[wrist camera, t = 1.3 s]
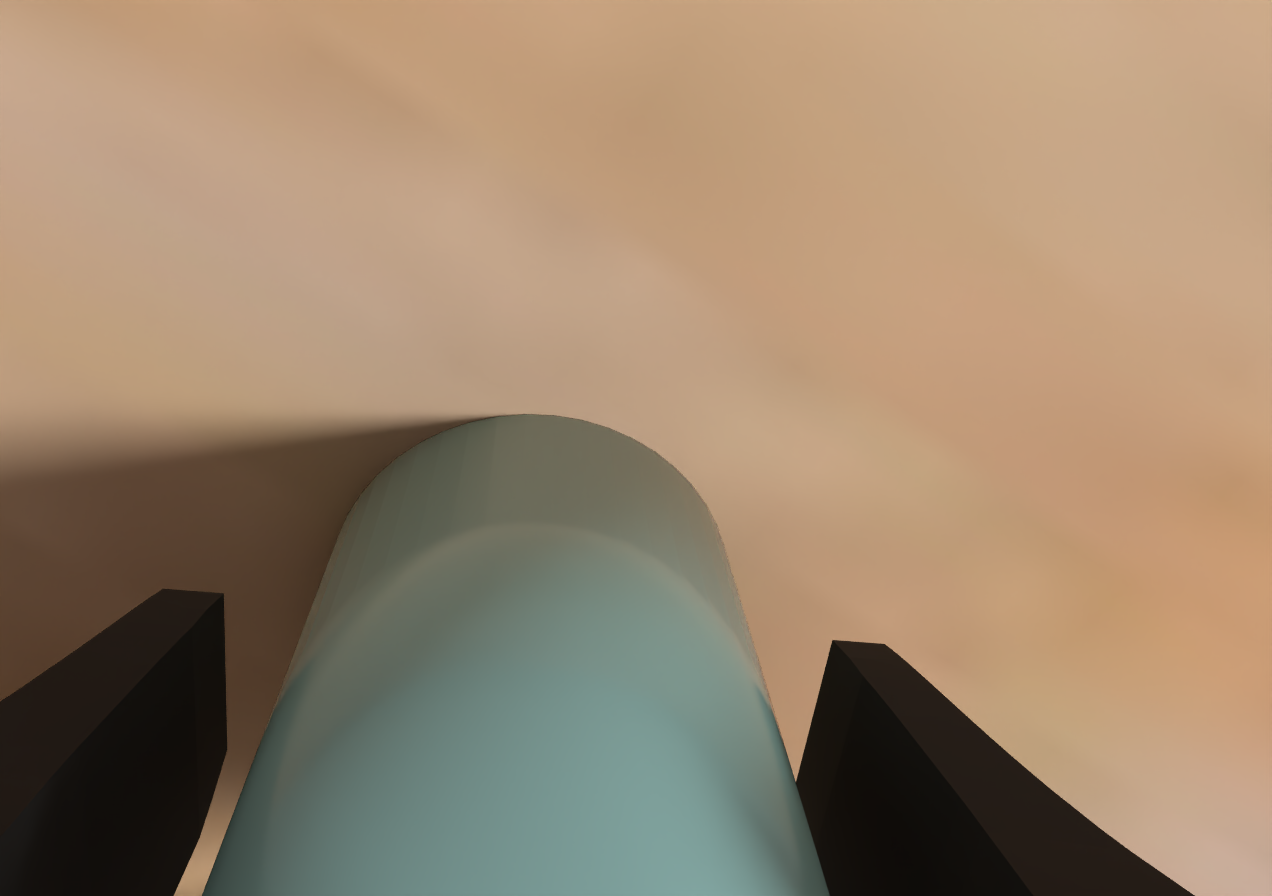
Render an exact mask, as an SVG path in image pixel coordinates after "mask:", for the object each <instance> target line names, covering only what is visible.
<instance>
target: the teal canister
mask: <svg viewBox="0 0 1272 896" xmlns="http://www.w3.org/2000/svg"><path fill="white" fill-rule="evenodd" d="M202 896H830V895H829V891H828V888H827V885H826V881H825V878H824V875H823V871H822V868H821V865H820V861H819V858H818V855H817V852H816V848H815V845H814V842H813V838H812V835H811V832H810V828H809V825H808V822H807V818H806V815H805V812H804V808H803V805H802V802H801V799H800V795H799V792H798V789H797V785H796V782H795V779H794V775H793V772H792V769H791V765H790V762H789V759H788V756H787V752H786V749H785V746H784V742H783V739H782V736H781V732H780V729H779V726H778V722H777V719H776V716H775V713H774V709H773V706H772V703H771V699H770V696H769V693H768V689H767V686H766V683H765V679H764V676H763V673H762V670H761V666H760V663H759V660H758V656H757V653H756V650H755V646H754V643H753V640H752V636H751V633H750V630H749V626H748V623H747V620H746V617H745V613H744V610H743V607H742V603H741V600H740V597H739V593H738V590H737V587H736V583H735V580H734V577H733V574H732V570H731V567H730V564H729V560H728V557H727V554H726V550H725V547H724V544H723V541H722V538H721V535H720V532H719V529H718V526H717V524H716V522H715V520H714V518H713V517H712V515H711V513H710V511H709V509H708V507H707V505H706V504H705V502H704V501H703V499H702V498H701V497H700V495H699V494H698V492H697V491H696V490H695V488H694V487H693V485H692V484H691V483H690V482H689V481H688V480H687V479H686V478H685V477H684V476H683V475H682V474H681V473H680V472H679V471H678V470H677V469H676V468H675V467H674V466H673V465H671V464H670V463H669V462H668V461H666V460H665V459H664V458H663V457H661V456H660V455H659V454H658V453H656V452H655V451H653V450H652V449H650V448H648V447H646V446H645V445H643V444H641V443H640V442H638V441H636V440H635V439H633V438H631V437H628V436H626V435H624V434H622V433H619V432H617V431H615V430H612V429H610V428H608V427H604V426H601V425H597V424H594V423H590V422H587V421H583V420H579V419H573V418H566V417H560V416H554V415H530V414H524V415H511V416H499V417H493V418H488V419H484V420H479V421H474V422H469V423H466V424H463V425H460V426H458V427H455V428H452V429H449V430H446V431H443V432H441V433H439V434H437V435H435V436H433V437H431V438H429V439H427V440H424V441H422V442H420V443H419V444H417V445H416V446H414V447H412V448H411V449H409V450H408V451H406V452H405V453H403V454H402V455H400V456H399V457H397V458H396V459H395V460H394V461H393V462H392V463H390V464H389V465H388V466H387V467H386V468H385V469H384V470H382V471H381V472H380V473H379V474H378V475H377V476H376V477H375V478H374V479H373V481H372V482H371V483H370V484H369V485H368V486H367V487H366V489H365V490H364V491H363V492H362V493H361V495H360V496H359V498H358V499H357V501H356V503H355V504H354V506H353V507H352V509H351V510H350V512H349V514H348V515H347V518H346V520H345V522H344V525H343V527H342V529H341V531H340V534H339V536H338V538H337V541H336V544H335V546H334V549H333V552H332V554H331V557H330V560H329V562H328V565H327V567H326V570H325V573H324V575H323V578H322V581H321V583H320V586H319V589H318V591H317V594H316V596H315V599H314V602H313V604H312V607H311V610H310V612H309V615H308V618H307V620H306V623H305V625H304V628H303V631H302V633H301V636H300V639H299V641H298V644H297V647H296V649H295V652H294V654H293V657H292V660H291V662H290V665H289V668H288V670H287V673H286V676H285V678H284V681H283V683H282V686H281V689H280V691H279V694H278V697H277V699H276V702H275V705H274V707H273V710H272V712H271V715H270V718H269V720H268V723H267V726H266V728H265V731H264V734H263V736H262V739H261V741H260V744H259V747H258V749H257V752H256V755H255V757H254V760H253V763H252V765H251V768H250V770H249V773H248V776H247V778H246V781H245V784H244V786H243V789H242V792H241V794H240V797H239V799H238V802H237V805H236V807H235V810H234V813H233V815H232V818H231V821H230V823H229V826H228V828H227V831H226V834H225V836H224V839H223V842H222V844H221V847H220V850H219V852H218V855H217V857H216V860H215V863H214V865H213V868H212V871H211V873H210V876H209V879H208V881H207V884H206V886H205V889H204V892H203V894H202Z"/></svg>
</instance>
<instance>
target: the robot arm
mask: <svg viewBox="0 0 1272 896" xmlns="http://www.w3.org/2000/svg"><path fill="white" fill-rule="evenodd" d="M226 752H227V717H226V672H225V628H224V593H211V592H198V591H185V590H172V589H162V590H161V591H159V592H158V593H156V594H155V595H153V596H152V597H150V598H149V599H147V600H146V601H144V602H143V603H141V604H140V605H139V606H137V607H136V608H134V609H133V610H132V611H130V612H129V613H127V614H126V615H125V616H123V617H122V618H120V619H119V620H118V621H116V622H115V623H113V624H112V625H111V626H109V627H108V628H106V629H105V630H104V631H102V632H101V633H99V634H98V635H97V636H95V637H94V638H92V639H91V640H90V641H88V642H87V643H85V644H84V645H83V646H81V647H80V648H78V649H77V650H75V651H74V652H73V653H71V654H70V655H68V656H67V657H65V658H64V659H62V660H61V661H60V662H58V663H57V664H55V665H54V666H52V667H51V668H49V669H48V670H46V671H45V672H44V673H42V674H41V675H39V676H38V677H36V678H35V679H33V680H32V681H30V682H29V683H28V684H26V685H25V686H23V687H22V688H20V689H19V690H17V691H16V692H14V693H13V694H11V695H10V696H8V697H7V698H5V699H3V700H2V701H0V896H174V893H175V891H176V889H177V887H178V885H179V882H180V880H181V878H182V876H183V874H184V871H185V869H186V867H187V865H188V863H189V860H190V858H191V856H192V854H193V851H194V849H195V847H196V845H197V842H198V840H199V838H200V835H201V832H202V829H203V826H204V823H205V820H206V816H207V813H208V810H209V807H210V804H211V801H212V798H213V795H214V791H215V788H216V785H217V782H218V778H219V775H220V772H221V768H222V765H223V762H224V758H225V755H226ZM796 785H797V789H798V792H799V795H800V799H801V802H802V805H803V808H804V812H805V815H806V818H807V822H808V825H809V828H810V832H811V835H812V838H813V842H814V845H815V848H816V852H817V855H818V858H819V861H820V865H821V868H822V871H823V875H824V878H825V881H826V885H827V888H828V891H829V895H830V896H1195V895H1193V894H1191V893H1190V892H1189V891H1187V890H1186V889H1184V888H1183V887H1181V886H1180V885H1178V884H1177V883H1176V882H1174V881H1173V880H1171V879H1170V878H1168V877H1167V876H1165V875H1164V874H1163V873H1161V872H1160V871H1158V870H1157V869H1155V868H1154V867H1153V866H1151V865H1150V864H1148V863H1147V862H1145V861H1144V860H1142V859H1141V858H1140V857H1138V856H1137V855H1135V854H1134V853H1132V852H1131V851H1130V850H1128V849H1127V848H1125V847H1124V846H1123V845H1121V844H1120V843H1119V842H1117V841H1116V840H1115V839H1113V838H1112V837H1111V836H1109V835H1108V834H1107V833H1105V832H1104V831H1103V830H1101V829H1100V828H1099V827H1097V826H1096V825H1095V824H1094V823H1092V822H1091V821H1090V820H1089V819H1087V818H1086V817H1085V816H1084V815H1082V814H1081V813H1080V812H1079V811H1077V810H1076V809H1075V808H1074V807H1072V806H1071V805H1070V804H1069V803H1067V802H1066V801H1065V800H1063V799H1062V798H1061V797H1060V796H1058V795H1057V794H1056V793H1055V792H1053V791H1052V790H1051V789H1050V788H1049V787H1047V786H1046V785H1045V784H1044V783H1043V782H1041V781H1040V780H1039V779H1038V778H1037V777H1035V776H1034V775H1033V774H1032V773H1031V772H1029V771H1028V770H1027V769H1026V768H1025V767H1024V766H1022V765H1021V764H1020V763H1019V762H1018V761H1017V760H1015V759H1014V758H1013V757H1012V756H1011V755H1010V754H1009V753H1007V752H1006V751H1005V750H1004V749H1003V748H1002V747H1001V746H999V745H998V744H997V743H996V742H995V741H994V740H993V739H991V738H990V737H989V736H988V735H987V734H986V733H985V732H984V731H983V730H981V729H980V728H979V727H978V726H977V725H976V724H975V723H974V722H973V721H971V720H970V719H969V718H968V717H967V716H966V715H965V714H964V713H963V712H961V711H960V710H959V709H958V708H957V707H956V706H955V705H954V704H953V703H952V702H950V701H949V700H948V699H947V698H946V697H945V696H944V695H943V694H942V693H941V692H940V691H938V690H937V689H936V688H935V687H934V686H933V685H932V684H931V683H930V682H929V681H927V680H926V679H925V678H924V677H923V676H922V675H921V674H920V673H919V672H917V671H916V670H915V669H914V668H913V667H912V666H911V665H909V664H908V663H907V662H906V661H905V660H904V659H903V658H901V657H900V656H899V655H898V654H897V653H895V652H894V651H893V650H892V649H890V648H889V647H888V646H887V645H885V644H877V643H864V642H851V641H837V640H832V644H831V648H830V652H829V656H828V660H827V664H826V667H825V671H824V675H823V679H822V683H821V687H820V691H819V695H818V699H817V703H816V706H815V710H814V714H813V718H812V722H811V726H810V730H809V734H808V738H807V742H806V746H805V749H804V753H803V757H802V761H801V765H800V769H799V773H798V777H797V781H796Z"/></svg>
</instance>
